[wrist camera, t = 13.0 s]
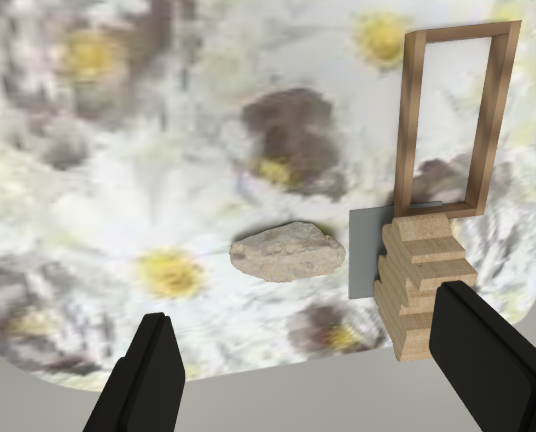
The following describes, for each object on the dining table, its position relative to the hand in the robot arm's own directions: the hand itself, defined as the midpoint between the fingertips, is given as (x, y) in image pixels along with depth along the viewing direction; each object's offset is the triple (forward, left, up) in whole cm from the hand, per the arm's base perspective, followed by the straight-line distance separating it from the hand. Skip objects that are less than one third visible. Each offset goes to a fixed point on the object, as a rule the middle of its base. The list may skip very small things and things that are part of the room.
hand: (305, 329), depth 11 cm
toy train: (+15, +16, -27) cm, 35 cm away
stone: (+12, +1, -29) cm, 31 cm away
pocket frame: (-1, +21, -28) cm, 35 cm away
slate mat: (+15, +16, -28) cm, 36 cm away
